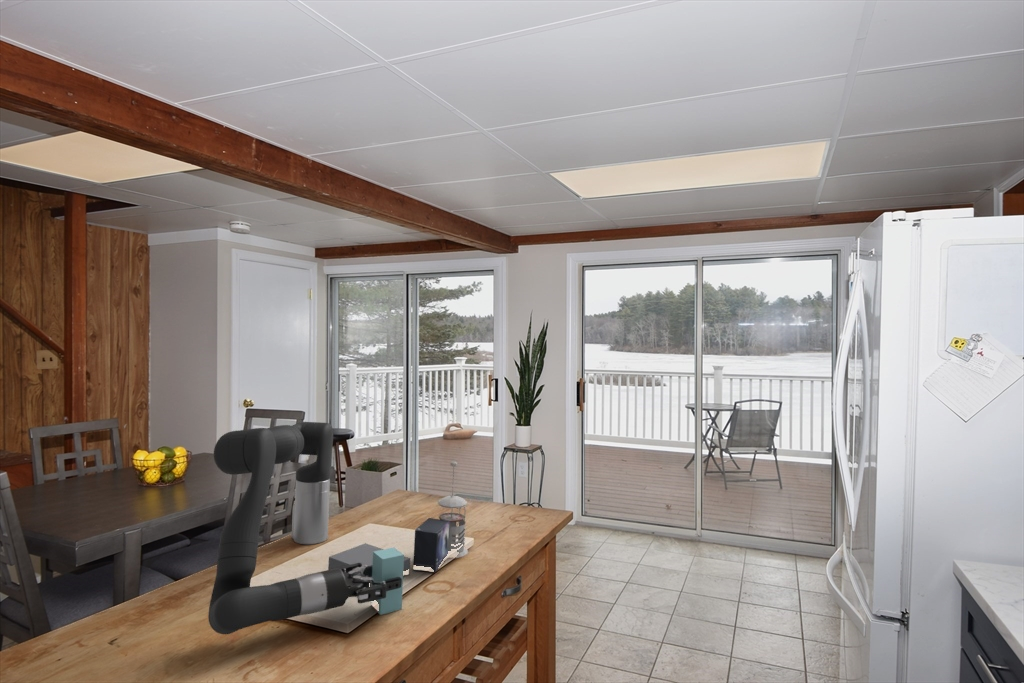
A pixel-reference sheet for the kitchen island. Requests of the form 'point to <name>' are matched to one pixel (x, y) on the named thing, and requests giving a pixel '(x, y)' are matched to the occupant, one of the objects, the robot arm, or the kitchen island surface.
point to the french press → (454, 520)
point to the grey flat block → (358, 557)
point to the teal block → (389, 577)
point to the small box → (431, 543)
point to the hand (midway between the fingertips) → (392, 574)
